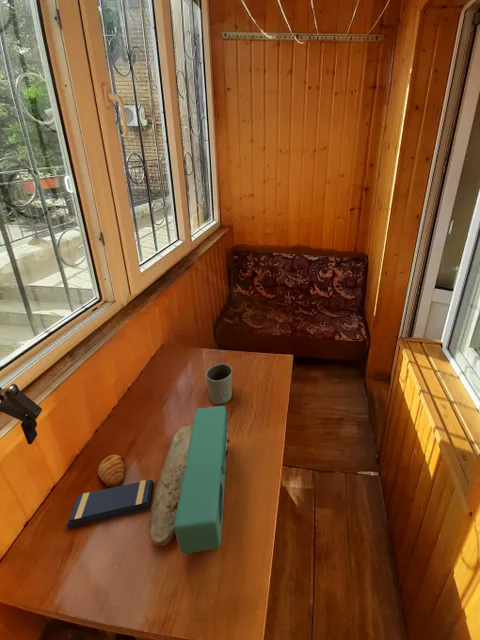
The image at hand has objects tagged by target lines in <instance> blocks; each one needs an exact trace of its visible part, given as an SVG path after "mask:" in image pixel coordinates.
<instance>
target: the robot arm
mask: <svg viewBox="0 0 480 640" xmlns="http://www.w3.org/2000/svg"><path fill="white" fill-rule="evenodd" d="M42 411H43V408H42V407H41V406H40V405H38V404H37V403H36V401H33V400H32V399H31V398H30V397H28V396H27V395H26V394H24V393H23V392H22V391H21V390H20V388H19V386H18V385H17V383H12V384H10V385H9V386H7V387H4V388H2V387H1V386H0V412H1V413H3V414H5V415H7V416H10V417H12V418H13V419H16V420H19V421H20V422H21V423H20V427H21V430H22V432H23V434H24V437H25V440H26V441H27V444H28V445H33V443H34V441H35V439H36V438H37V436H38V432H37V427H38V422H37V419H38V418H39V416H40V414H41V413H42Z"/></svg>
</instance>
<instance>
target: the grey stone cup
mask: <svg viewBox="0 0 480 640" xmlns="http://www.w3.org/2000/svg"><path fill="white" fill-rule="evenodd" d="M205 379H206V381H207V388H208V392H209V399H210V401H211V402H212V403H213V404H215V405H224V404H226V403H228V402H229V401H231V399H232V396H233V368H232V366H230V365H229V364H226V363H216V364H214V365H212V366H210V367H209V368H208V369H207V370H206V372H205Z"/></svg>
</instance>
